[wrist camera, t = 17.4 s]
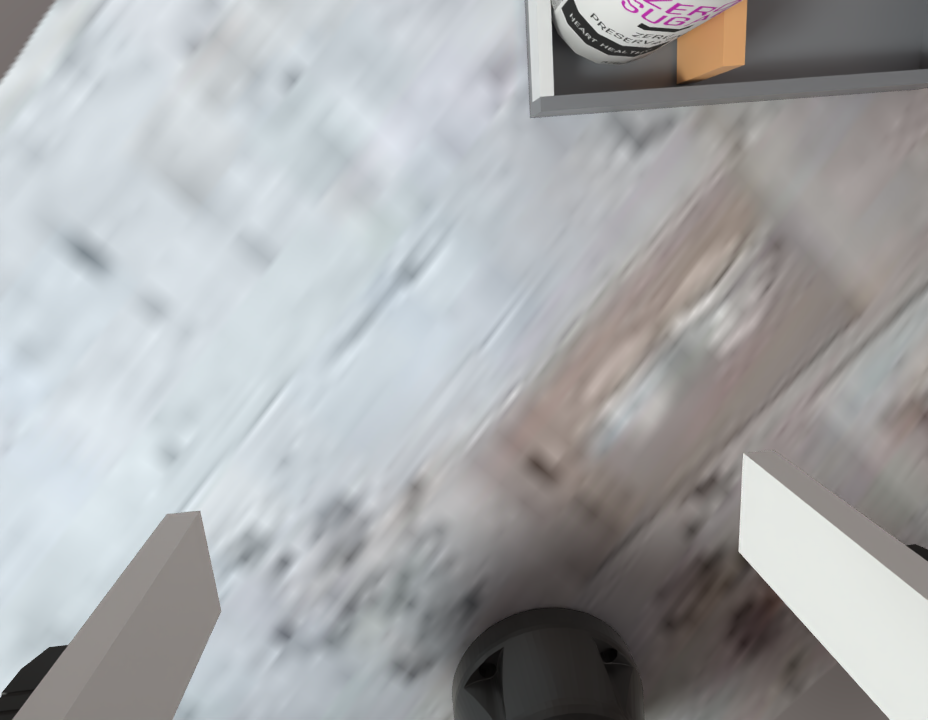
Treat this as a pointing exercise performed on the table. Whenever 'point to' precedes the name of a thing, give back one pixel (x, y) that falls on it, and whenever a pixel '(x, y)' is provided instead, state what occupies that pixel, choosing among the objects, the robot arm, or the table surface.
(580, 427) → the table surface
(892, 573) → the robot arm
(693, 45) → the pusher
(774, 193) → the table surface
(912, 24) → the pusher lane
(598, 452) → the table surface
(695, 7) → the supplement can
